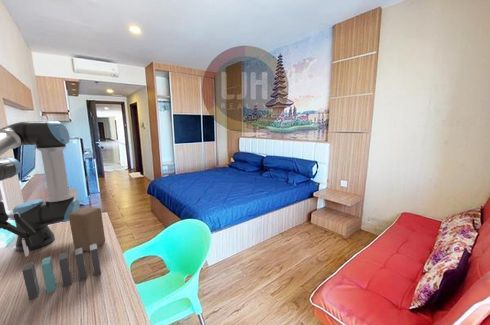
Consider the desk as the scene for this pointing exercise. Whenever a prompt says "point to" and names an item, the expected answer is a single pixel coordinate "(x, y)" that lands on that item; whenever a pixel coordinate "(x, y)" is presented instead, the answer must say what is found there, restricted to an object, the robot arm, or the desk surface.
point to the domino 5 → (95, 259)
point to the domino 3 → (65, 269)
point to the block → (87, 228)
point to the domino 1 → (31, 280)
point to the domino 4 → (80, 264)
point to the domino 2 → (48, 274)
